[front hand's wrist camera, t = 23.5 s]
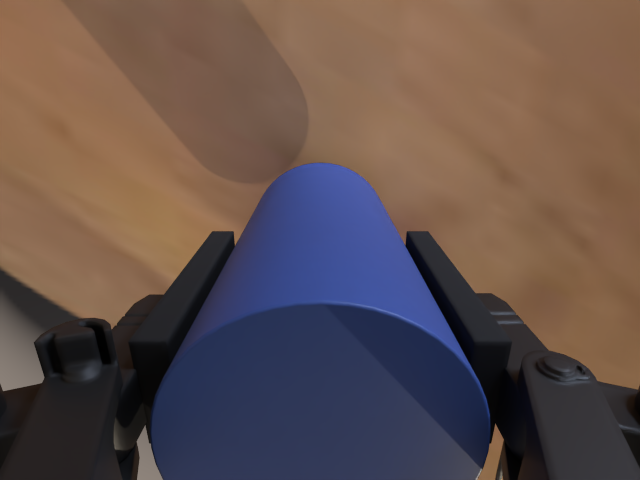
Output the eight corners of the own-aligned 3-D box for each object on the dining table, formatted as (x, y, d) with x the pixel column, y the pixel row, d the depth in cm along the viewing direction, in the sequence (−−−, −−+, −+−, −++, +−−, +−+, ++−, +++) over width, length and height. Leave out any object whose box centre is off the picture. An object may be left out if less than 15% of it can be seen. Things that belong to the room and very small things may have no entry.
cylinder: (233, 192, 18) (78, 373, 6) (359, 141, 17) (438, 245, 6) (286, 301, 20) (241, 586, 9) (401, 260, 19) (523, 515, 8)
